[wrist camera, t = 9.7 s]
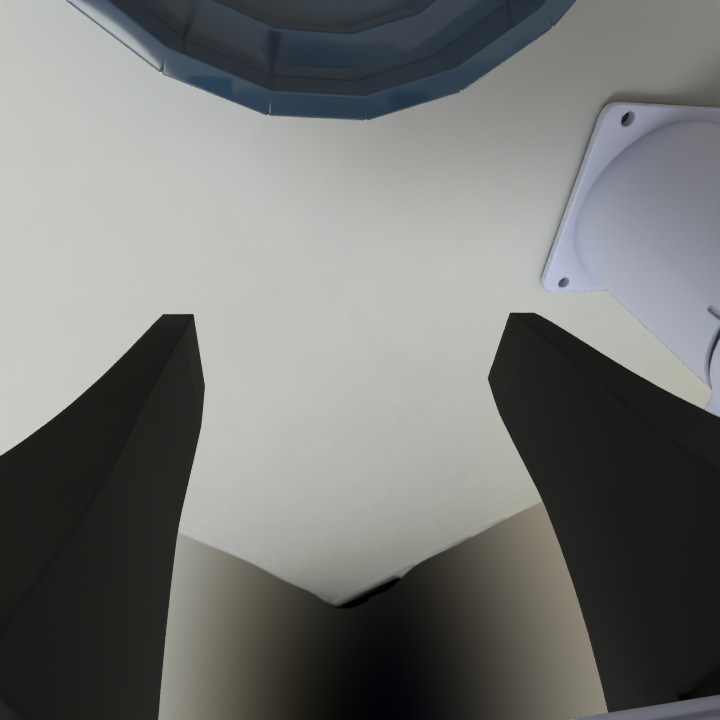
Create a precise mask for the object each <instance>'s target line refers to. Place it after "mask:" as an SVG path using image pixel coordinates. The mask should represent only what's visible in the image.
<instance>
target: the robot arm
mask: <svg viewBox="0 0 720 720" xmlns="http://www.w3.org/2000/svg"><path fill="white" fill-rule="evenodd" d="M627 112H629V116H628V118H627V120H626V121H625V122H624V123H622V124H621V119H622V117H623V116H624V114H626V113H627ZM563 278H565V279H564V281H563V282H561V283H559V281H560V280H561V279H563ZM540 283H541V286H542V287H543V288H544V289H545V290H546V291H607V292H608V293H609V294H610V295H611V296H612V297H613V298H614V299H616V300H617V301H618V302H619V303H620V304H621V305H622V306H623V307H624V308H625V309H626V310H627V311H628V312H629V313H630V314H631V315H632V316H634V317H635V318H636V319H637V320H638V321H639V322H640V323H641V324H642V325H643V326H644V327H645V328H646V329H647V330H648V331H649V332H651V333H652V334H653V335H654V336H655V337H656V338H657V339H658V340H659V341H660V342H661V343H662V344H663V345H664V346H665V347H666V348H668V349H669V350H670V351H671V352H672V353H673V354H674V355H675V356H676V357H677V358H678V359H679V360H680V361H681V362H682V363H683V364H684V365H686V366H687V367H688V368H689V369H690V370H691V371H692V372H693V373H694V374H695V375H696V376H697V377H698V378H699V379H700V380H701V381H703V382H704V383H705V384H706V385H707V386H708V387H709V388H710V389H711V390H712V395H711V398H710V400H709V402H708V404H707V405H706V407H705V408H704V409H702V408H699V407H697V406H695V405H693V404H691V403H689V402H687V401H685V400H683V399H681V398H679V397H677V396H675V395H673V394H671V393H669V392H667V391H665V390H664V389H662V388H660V387H658V386H656V385H655V384H653V383H651V382H649V381H648V380H646V379H644V378H642V377H640V376H639V375H637V374H635V373H633V372H632V371H630V370H628V369H627V368H625V367H623V366H622V365H620V364H618V363H617V362H615V361H613V360H612V359H610V358H608V357H607V356H605V355H604V354H602V353H600V352H599V351H597V350H596V349H594V348H592V347H591V346H589V345H588V344H586V343H585V342H583V341H581V340H580V339H578V338H577V337H575V336H573V335H572V334H570V333H569V332H567V331H565V330H564V329H562V328H561V327H559V326H557V325H556V324H554V323H552V322H551V321H549V320H547V319H545V318H543V317H542V316H540V315H538V314H536V313H510V315H509V317H508V320H507V323H506V326H505V329H504V332H503V335H502V338H501V341H500V344H499V347H498V350H497V353H496V356H495V359H494V361H493V364H492V367H491V370H490V373H489V376H488V381H489V384H490V387H491V390H492V394H493V397H494V400H495V403H496V406H497V408H498V411H499V414H500V416H501V418H502V420H503V422H504V424H505V426H506V428H507V430H508V432H509V434H510V436H511V439H512V441H513V443H514V444H515V446H516V448H517V450H518V452H519V454H520V456H521V458H522V460H523V462H524V464H525V466H526V468H527V470H528V472H529V474H530V476H531V478H532V480H533V482H534V484H535V486H536V488H537V490H538V492H539V494H540V496H541V498H542V501H543V503H544V505H545V507H546V510H547V512H548V515H549V518H550V520H551V523H552V525H553V528H554V531H555V534H556V536H557V539H558V541H559V544H560V546H561V550H562V553H563V556H564V559H565V561H566V564H567V567H568V570H569V573H570V576H571V579H572V582H573V585H574V588H575V591H576V595H577V598H578V601H579V604H580V608H581V611H582V614H583V618H584V621H585V624H586V627H587V631H588V634H589V638H590V642H591V645H592V649H593V653H594V657H595V661H596V665H597V669H598V672H599V676H600V680H601V684H602V688H603V692H604V697H605V701H606V705H607V710H608V713H604V714H598V715H592V716H586V717H579V718H573V719H568V720H720V108H715V107H699V106H682V105H666V104H649V103H633V102H611V103H609V104H608V105H606V106H605V107H604V108H603V109H602V111H601V113H600V115H599V117H598V120H597V123H596V126H595V128H594V131H593V134H592V137H591V140H590V142H589V145H588V148H587V151H586V154H585V157H584V159H583V162H582V165H581V168H580V171H579V173H578V176H577V179H576V182H575V185H574V187H573V190H572V193H571V196H570V199H569V202H568V204H567V207H566V210H565V213H564V216H563V218H562V221H561V224H560V227H559V230H558V232H557V235H556V238H555V241H554V244H553V247H552V249H551V252H550V255H549V258H548V261H547V263H546V266H545V269H544V272H543V275H542V277H541V282H540ZM204 391H205V384H204V378H203V372H202V365H201V359H200V353H199V346H198V340H197V334H196V328H195V321H194V315H193V314H163V315H162V316H161V317H160V318H159V319H158V320H157V321H156V322H155V323H154V324H153V325H152V326H151V327H150V328H149V329H148V330H147V331H146V332H145V333H144V334H143V336H142V337H141V338H140V339H139V340H138V341H137V342H136V343H135V344H134V345H133V346H132V347H131V348H130V349H129V350H128V351H127V352H126V353H125V354H124V355H123V356H122V357H121V358H120V359H119V360H118V361H117V362H116V363H115V364H114V365H113V366H112V367H111V368H110V369H109V370H108V371H107V372H106V373H105V374H104V375H103V376H102V377H101V378H100V379H99V380H98V381H96V382H95V383H94V384H93V385H92V386H91V387H90V388H89V389H87V390H86V391H85V392H84V393H83V394H82V395H81V396H80V397H78V398H77V399H76V400H75V401H74V402H73V403H72V404H70V405H69V406H68V407H67V408H66V409H64V410H63V411H62V412H61V413H59V414H58V415H57V416H56V417H54V418H53V419H52V420H50V421H49V422H48V423H46V424H45V425H44V426H42V427H41V428H40V429H38V430H37V431H36V432H34V433H33V434H32V435H30V436H29V437H28V438H26V439H25V440H23V441H22V442H21V443H19V444H18V445H16V446H15V447H13V448H12V449H10V450H9V451H7V452H6V453H4V454H3V455H1V456H0V720H158V716H159V702H160V689H161V679H162V668H163V657H164V647H165V636H166V626H167V617H168V607H169V598H170V589H171V580H172V571H173V564H174V556H175V547H176V539H177V533H178V528H179V522H180V517H181V512H182V508H183V504H184V499H185V495H186V491H187V486H188V482H189V478H190V473H191V469H192V465H193V460H194V456H195V452H196V447H197V443H198V438H199V434H200V429H201V423H202V413H203V402H204Z"/></svg>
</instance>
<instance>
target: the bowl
mask: <svg viewBox="0 0 720 720" xmlns="http://www.w3.org/2000/svg"><path fill="white" fill-rule="evenodd" d="M66 1H67V2H68V3H70V4H71V5H72V6H74V7H75V8H76V9H78V10H79V11H80V12H81V13H83V14H84V15H85V16H87V17H88V18H89V19H91V20H92V21H93V22H95V23H96V24H97V25H99V26H100V27H101V28H103V29H104V30H105V31H106V32H108V33H109V34H110V35H112V36H113V37H114V38H116V39H117V40H118V41H120V42H121V43H122V44H124V45H125V46H126V47H127V48H129V49H130V50H131V51H133V52H134V53H135V54H137V55H138V56H139V57H141V58H142V59H143V60H145V61H146V62H147V63H148V64H150V65H151V66H152V67H154V68H155V69H156V70H158V71H159V72H162V73H163V74H164V75H166V76H168V77H171V78H173V79H176V80H179V81H181V82H184V83H186V84H189V85H191V86H194V87H196V88H199V89H201V90H204V91H206V92H209V93H211V94H214V95H216V96H219V97H222V98H224V99H227V100H229V101H232V102H234V103H237V104H239V105H242V106H244V107H247V108H249V109H252V110H254V111H257V112H259V113H262V114H265V115H268V114H269V115H270V116H285V117H305V118H325V119H346V120H366V119H367V120H371V119H374V118H377V117H380V116H384V115H387V114H390V113H394V112H397V111H400V110H403V109H407V108H410V107H413V106H417V105H420V104H423V103H426V102H430V101H433V100H436V99H439V98H443V97H446V96H449V95H453V94H456V93H459V92H460V90H464V89H465V88H467V87H468V86H470V85H471V84H473V83H474V82H475V81H477V80H478V79H480V78H481V77H483V76H484V75H486V74H487V73H488V72H490V71H491V70H493V69H494V68H496V67H497V66H499V65H500V64H501V63H503V62H504V61H506V60H507V59H509V58H510V57H511V56H513V55H514V54H516V53H517V52H519V51H520V50H522V49H523V48H524V47H526V46H527V45H529V44H530V43H532V42H533V41H535V40H536V39H537V38H539V37H540V36H542V35H543V34H545V33H546V32H547V31H549V30H550V29H551V28H552V27H553V26H554V25H556V23H557V22H558V21H559V20H560V19H561V18H562V16H563V15H564V14H565V13H566V12H567V11H568V9H569V8H570V7H571V6H572V5H573V4H574V2H575V1H576V0H66Z"/></svg>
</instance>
